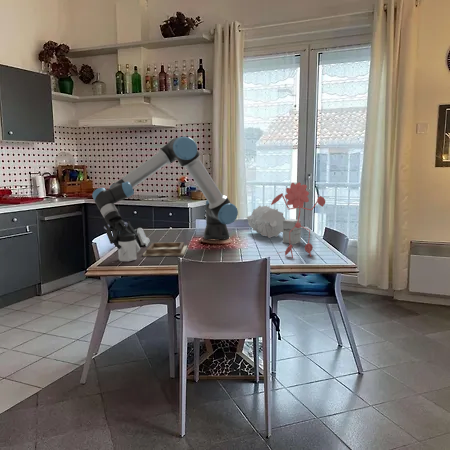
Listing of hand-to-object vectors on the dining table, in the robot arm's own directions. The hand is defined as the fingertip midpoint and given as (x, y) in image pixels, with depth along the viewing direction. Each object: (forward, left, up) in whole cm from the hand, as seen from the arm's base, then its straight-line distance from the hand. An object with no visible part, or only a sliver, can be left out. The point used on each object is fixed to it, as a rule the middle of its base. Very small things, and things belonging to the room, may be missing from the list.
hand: (131, 252), depth 204 cm
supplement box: (-80, -36, -4) cm, 88 cm away
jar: (+3, -2, -4) cm, 6 cm away
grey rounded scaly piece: (-68, -59, -4) cm, 91 cm away
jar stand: (-13, -18, -4) cm, 23 cm away
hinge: (+3, -39, -5) cm, 40 cm away
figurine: (-78, -7, -4) cm, 79 cm away
